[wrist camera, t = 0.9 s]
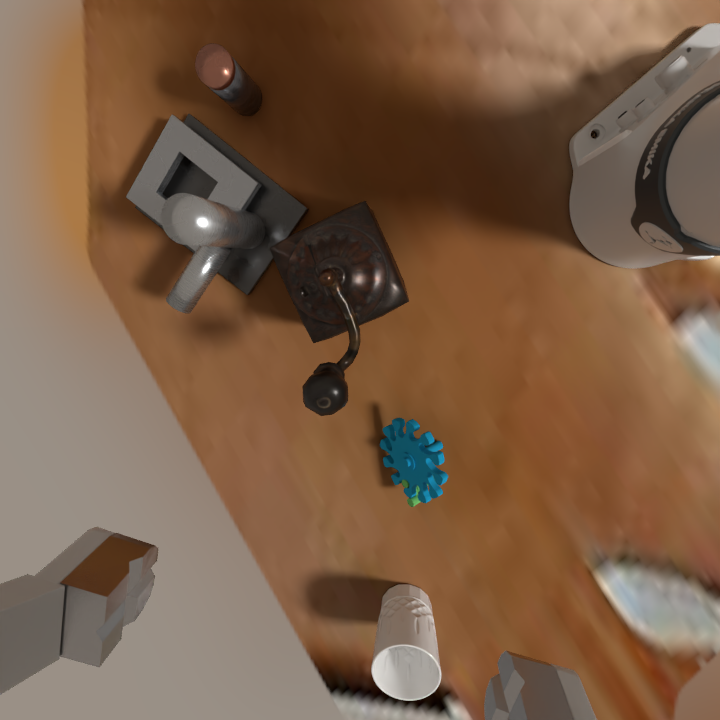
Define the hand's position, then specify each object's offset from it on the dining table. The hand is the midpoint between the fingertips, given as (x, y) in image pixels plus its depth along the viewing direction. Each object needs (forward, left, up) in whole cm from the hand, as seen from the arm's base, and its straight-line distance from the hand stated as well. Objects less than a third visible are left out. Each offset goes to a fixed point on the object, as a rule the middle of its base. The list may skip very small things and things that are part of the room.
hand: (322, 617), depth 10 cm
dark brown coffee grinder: (-1, -6, -41) cm, 42 cm away
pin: (-10, -28, -41) cm, 50 cm away
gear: (+10, +12, -41) cm, 44 cm away
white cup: (+28, +25, -41) cm, 56 cm away
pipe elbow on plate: (+3, -24, -41) cm, 47 cm away
